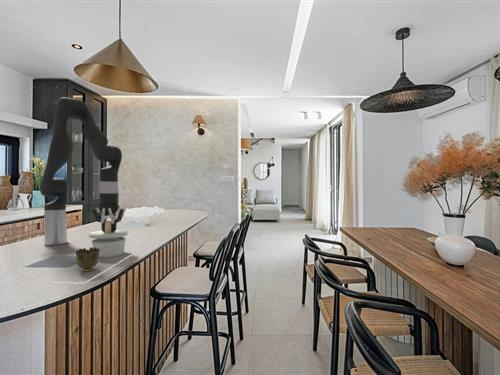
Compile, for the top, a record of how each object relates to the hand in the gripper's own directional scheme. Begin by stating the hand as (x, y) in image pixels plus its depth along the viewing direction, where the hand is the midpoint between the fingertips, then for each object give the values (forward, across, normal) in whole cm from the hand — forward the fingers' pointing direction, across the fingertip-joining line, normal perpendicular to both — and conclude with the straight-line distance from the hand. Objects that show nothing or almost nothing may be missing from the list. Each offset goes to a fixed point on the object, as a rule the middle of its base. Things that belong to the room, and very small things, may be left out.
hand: (108, 231), depth 130 cm
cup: (+10, -4, +24) cm, 26 cm away
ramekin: (+10, 0, 0) cm, 10 cm away
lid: (+2, 0, 0) cm, 2 cm away
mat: (+10, +13, +13) cm, 21 cm away
